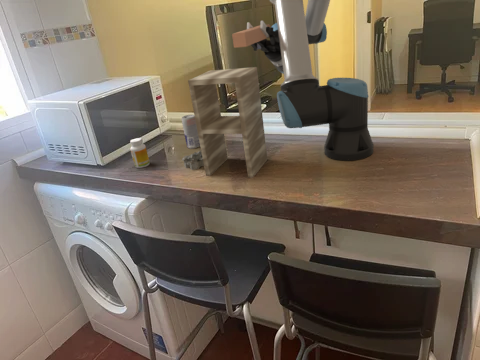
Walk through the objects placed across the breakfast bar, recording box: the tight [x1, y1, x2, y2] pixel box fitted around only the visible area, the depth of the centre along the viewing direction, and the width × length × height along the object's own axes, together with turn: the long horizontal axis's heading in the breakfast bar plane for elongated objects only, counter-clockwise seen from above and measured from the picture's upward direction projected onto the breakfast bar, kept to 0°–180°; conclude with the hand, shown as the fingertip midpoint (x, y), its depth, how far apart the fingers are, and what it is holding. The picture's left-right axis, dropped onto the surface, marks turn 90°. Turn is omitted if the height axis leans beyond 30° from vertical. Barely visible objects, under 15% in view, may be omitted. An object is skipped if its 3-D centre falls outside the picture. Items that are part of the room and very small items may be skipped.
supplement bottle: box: [129, 137, 151, 169], centre depth 135 cm, size 5×5×10 cm
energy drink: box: [181, 114, 200, 150], centre depth 146 cm, size 5×5×12 cm
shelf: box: [187, 66, 268, 179], centre depth 117 cm, size 16×14×30 cm
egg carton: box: [181, 150, 204, 171], centre depth 131 cm, size 11×8×4 cm
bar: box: [231, 23, 271, 49], centre depth 123 cm, size 4×24×4 cm, turn 158°
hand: (254, 25), depth 124 cm, fingers closed on bar, 4 cm apart
